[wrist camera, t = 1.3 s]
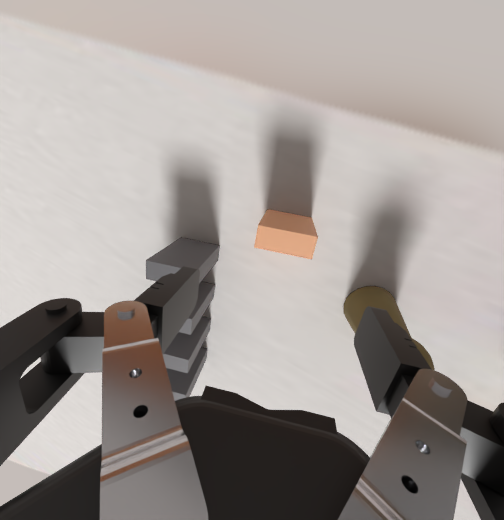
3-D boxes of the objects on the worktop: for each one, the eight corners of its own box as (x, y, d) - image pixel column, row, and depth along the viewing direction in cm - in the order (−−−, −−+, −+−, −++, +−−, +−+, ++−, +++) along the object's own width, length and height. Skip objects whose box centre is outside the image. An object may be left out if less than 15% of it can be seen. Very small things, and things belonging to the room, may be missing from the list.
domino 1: (219, 245, 31) (195, 271, 23) (218, 260, 31) (194, 289, 24) (181, 237, 31) (146, 260, 24) (180, 252, 32) (146, 278, 24)
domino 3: (211, 318, 35) (188, 360, 27) (209, 329, 36) (187, 373, 28) (177, 310, 35) (146, 349, 28) (176, 322, 36) (146, 362, 29)
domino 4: (207, 348, 37) (185, 395, 29) (206, 359, 38) (184, 406, 30) (175, 340, 37) (146, 384, 30) (175, 351, 38) (146, 396, 31)
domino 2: (215, 284, 33) (192, 319, 25) (213, 297, 33) (190, 334, 26) (179, 276, 33) (146, 308, 26) (178, 289, 34) (146, 323, 26)
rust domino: (311, 217, 28) (317, 237, 20) (307, 234, 28) (311, 259, 21) (267, 209, 28) (258, 225, 21) (264, 226, 29) (254, 247, 21)
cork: (334, 299, 31) (354, 365, 21) (383, 277, 29) (431, 339, 19) (356, 335, 32) (385, 414, 22) (404, 317, 30) (460, 394, 20)
